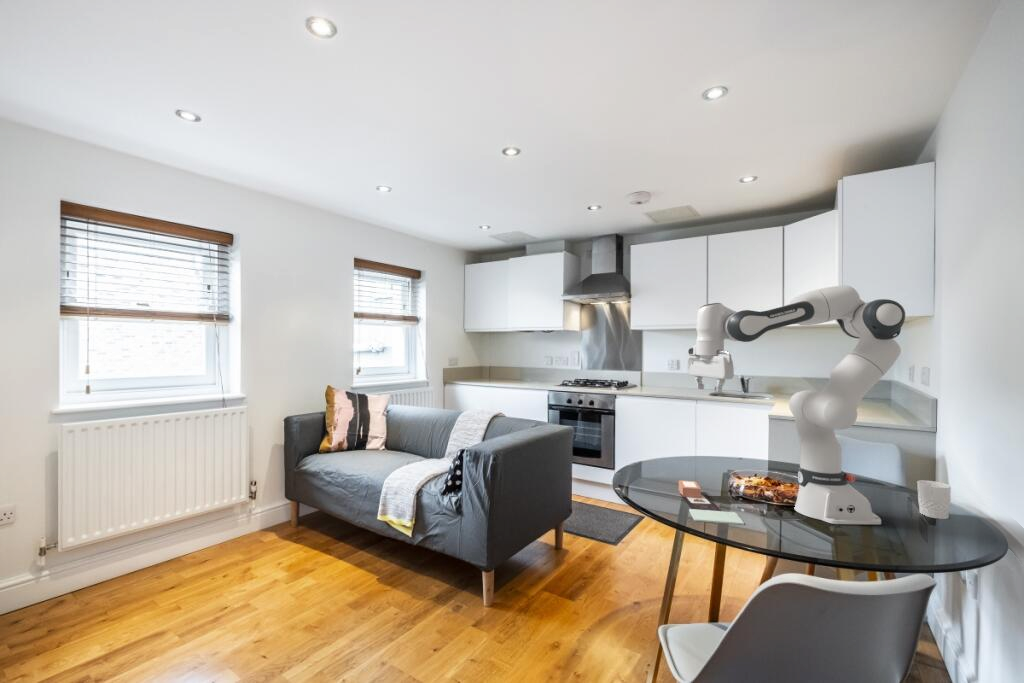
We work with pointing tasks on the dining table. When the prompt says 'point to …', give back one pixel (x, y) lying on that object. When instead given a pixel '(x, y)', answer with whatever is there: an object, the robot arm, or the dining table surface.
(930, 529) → the dining table surface
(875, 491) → the dining table surface
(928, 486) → the white cup
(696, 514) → the mat
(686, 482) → the deck
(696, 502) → the chocolate bar
